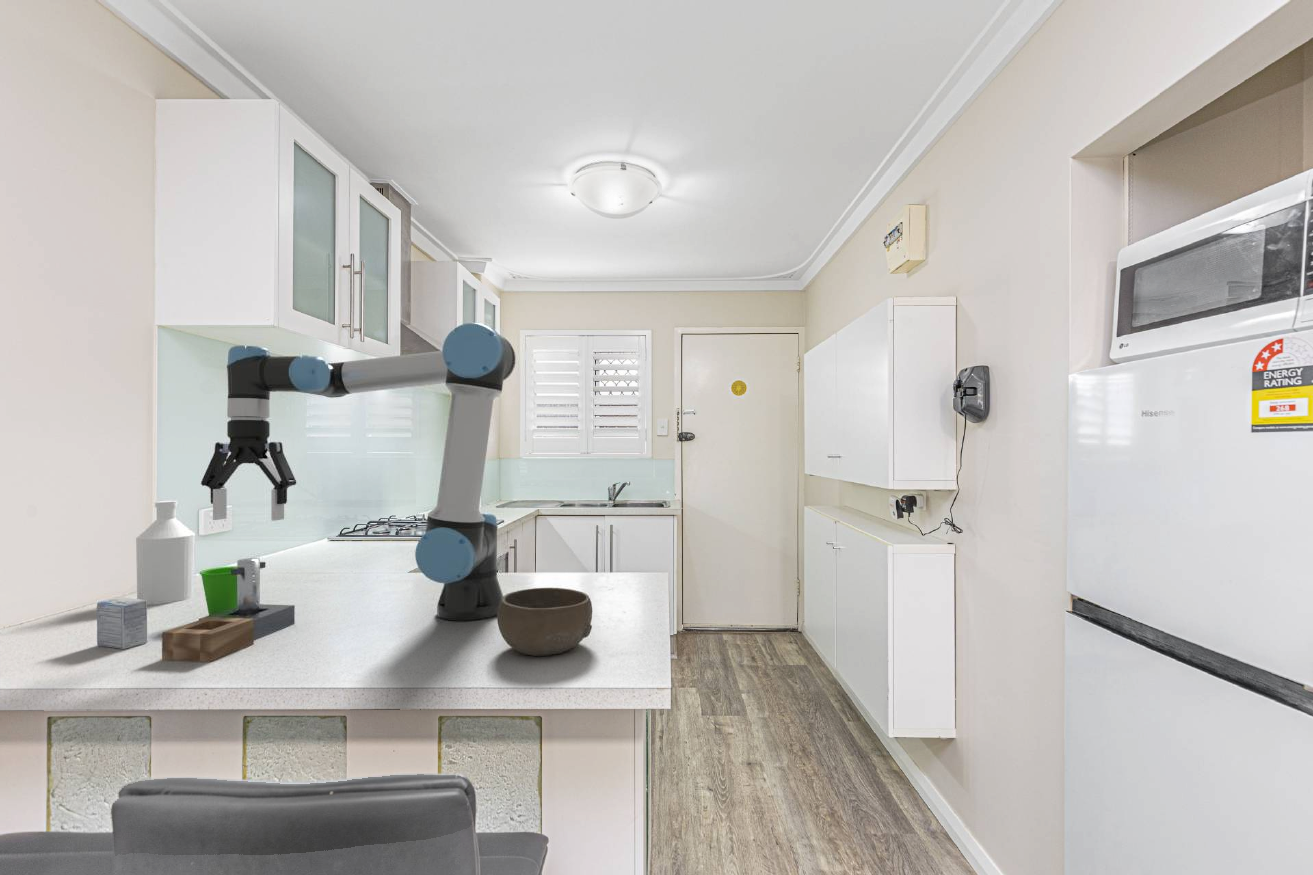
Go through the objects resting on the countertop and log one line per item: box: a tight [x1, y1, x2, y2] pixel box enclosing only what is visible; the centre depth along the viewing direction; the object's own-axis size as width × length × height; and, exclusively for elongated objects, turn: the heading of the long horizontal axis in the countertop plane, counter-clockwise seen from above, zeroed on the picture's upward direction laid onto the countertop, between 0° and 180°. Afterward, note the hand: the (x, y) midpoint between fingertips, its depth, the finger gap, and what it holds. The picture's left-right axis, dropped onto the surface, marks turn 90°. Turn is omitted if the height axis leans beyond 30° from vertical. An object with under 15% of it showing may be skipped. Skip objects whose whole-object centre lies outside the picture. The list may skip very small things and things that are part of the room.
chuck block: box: [198, 603, 296, 641], centre depth 131 cm, size 12×12×4 cm
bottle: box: [135, 500, 196, 606], centre depth 159 cm, size 12×12×25 cm
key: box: [231, 557, 266, 616], centre depth 131 cm, size 4×8×15 cm, turn 173°
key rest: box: [161, 617, 255, 663], centre depth 118 cm, size 10×10×5 cm
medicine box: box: [96, 596, 148, 650], centre depth 122 cm, size 8×4×9 cm, turn 71°
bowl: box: [496, 587, 593, 657], centre depth 119 cm, size 17×18×10 cm
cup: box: [198, 565, 237, 616], centre depth 141 cm, size 9×9×11 cm
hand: (248, 519), depth 132 cm, fingers open, 13 cm apart
